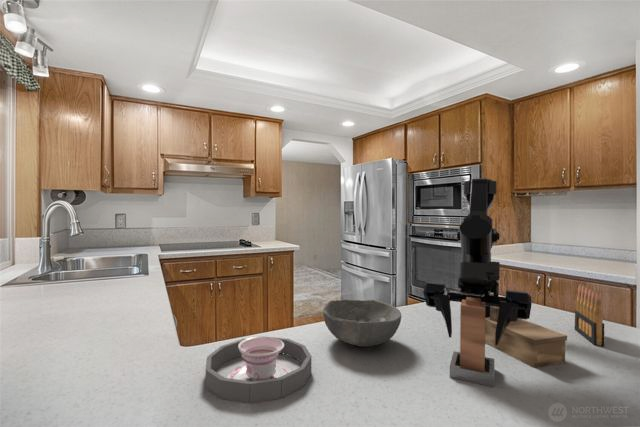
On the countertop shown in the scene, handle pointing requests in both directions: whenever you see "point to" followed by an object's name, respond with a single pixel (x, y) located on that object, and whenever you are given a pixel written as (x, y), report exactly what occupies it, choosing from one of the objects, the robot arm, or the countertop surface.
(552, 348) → the light brown wooden box
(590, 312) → the ammunition clip
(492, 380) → the frame
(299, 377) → the coaster ring
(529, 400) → the countertop surface
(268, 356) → the teacup
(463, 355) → the reddish brown rectangular block
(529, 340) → the lid
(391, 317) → the bowl
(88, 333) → the countertop surface
